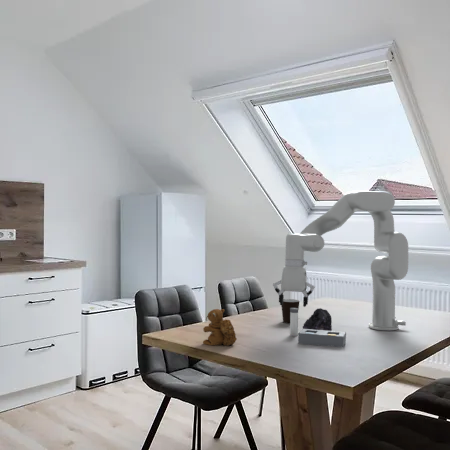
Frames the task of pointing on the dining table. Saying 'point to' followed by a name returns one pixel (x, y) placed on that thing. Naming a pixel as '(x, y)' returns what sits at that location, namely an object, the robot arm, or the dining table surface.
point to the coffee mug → (288, 308)
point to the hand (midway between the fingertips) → (293, 305)
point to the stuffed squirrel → (219, 329)
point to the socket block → (322, 337)
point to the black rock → (319, 321)
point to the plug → (294, 321)
